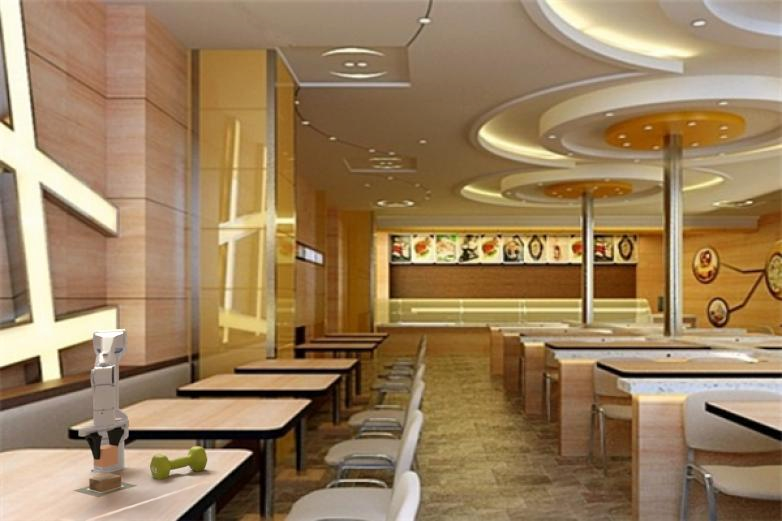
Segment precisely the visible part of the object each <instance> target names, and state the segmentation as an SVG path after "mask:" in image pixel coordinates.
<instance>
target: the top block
mask: <svg viewBox="0 0 782 521" xmlns="http://www.w3.org/2000/svg"><path fill="white" fill-rule="evenodd" d="M115 464H118V446H115V445H109V444H107V445H103V446H100V459H99V460H96V459H94V461H93V467H94V466H98V467H103V468H104V467H107V466H111V465H115Z"/></svg>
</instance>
